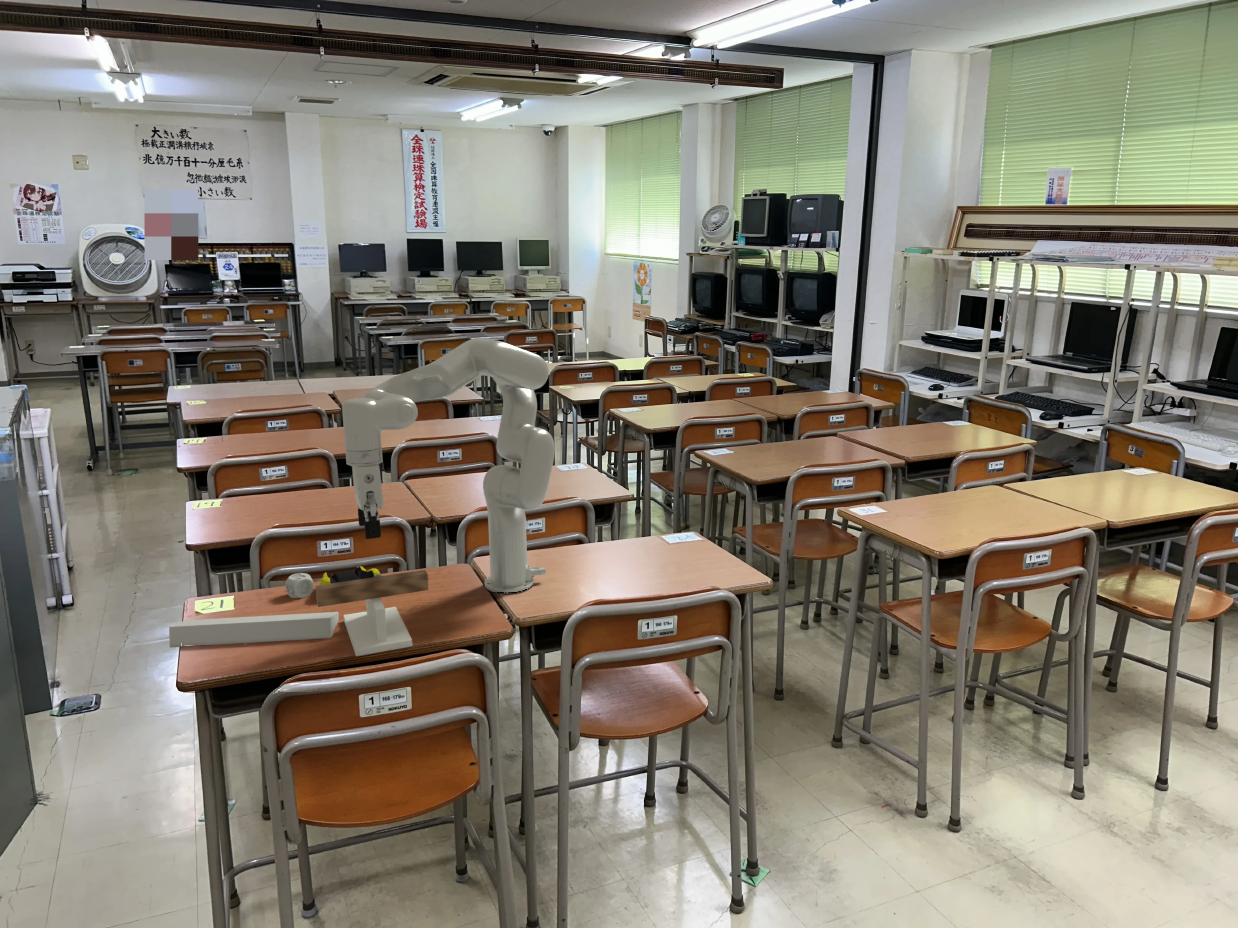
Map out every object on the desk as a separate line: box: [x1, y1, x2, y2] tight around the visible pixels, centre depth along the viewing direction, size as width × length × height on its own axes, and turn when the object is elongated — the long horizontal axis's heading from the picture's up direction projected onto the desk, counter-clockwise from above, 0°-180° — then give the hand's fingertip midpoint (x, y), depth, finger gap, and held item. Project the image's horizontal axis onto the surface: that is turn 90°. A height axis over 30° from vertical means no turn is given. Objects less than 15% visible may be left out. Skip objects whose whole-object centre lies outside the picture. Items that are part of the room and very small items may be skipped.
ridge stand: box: [343, 598, 413, 657], centre depth 199 cm, size 12×20×9 cm, turn 24°
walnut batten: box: [315, 569, 429, 608], centre depth 197 cm, size 24×3×4 cm, turn 114°
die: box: [285, 572, 315, 599], centre depth 221 cm, size 5×5×5 cm
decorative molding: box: [168, 611, 340, 648], centre depth 200 cm, size 34×5×10 cm
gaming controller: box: [319, 565, 382, 585], centre depth 225 cm, size 15×6×10 cm
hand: (369, 531), depth 194 cm, fingers open, 9 cm apart
